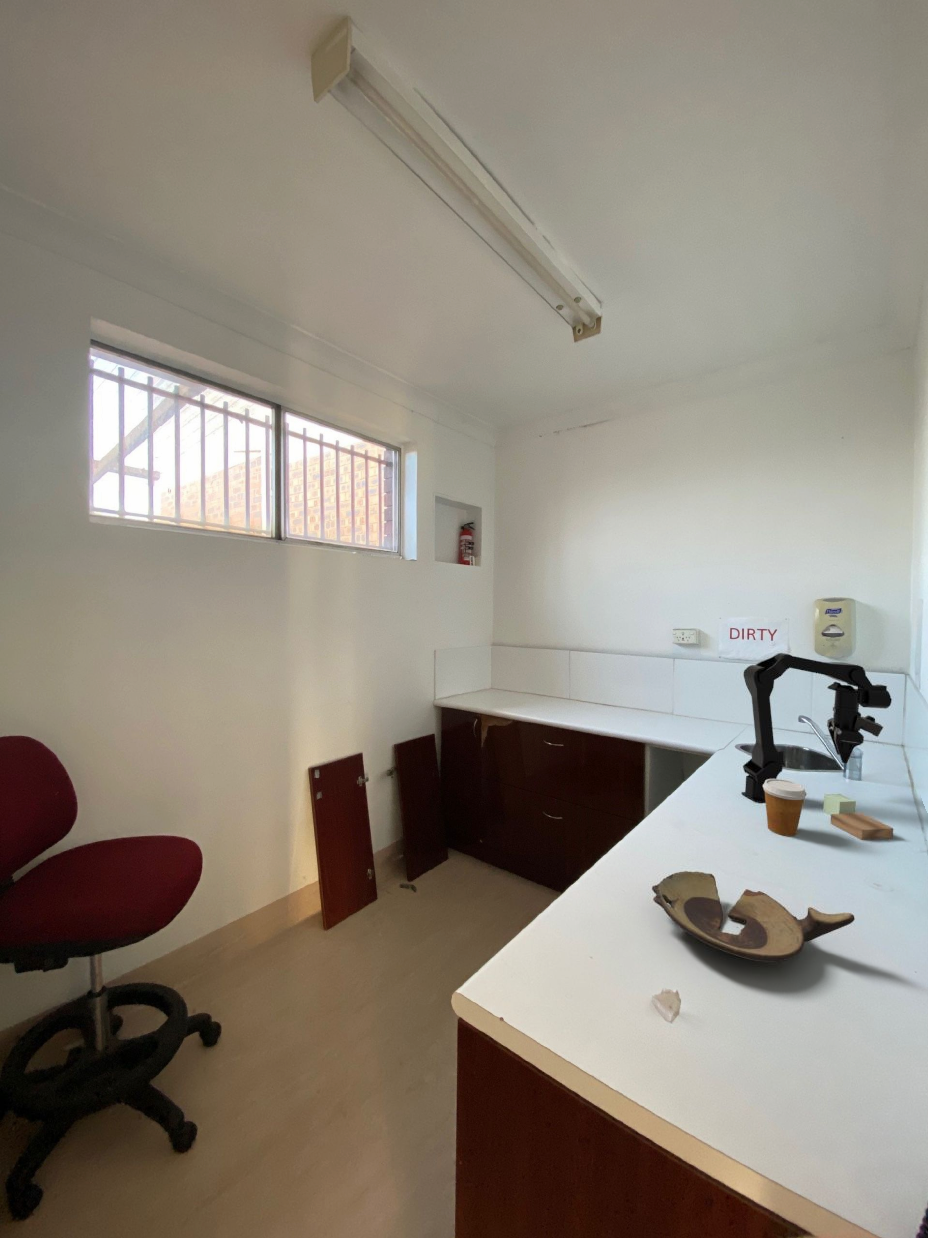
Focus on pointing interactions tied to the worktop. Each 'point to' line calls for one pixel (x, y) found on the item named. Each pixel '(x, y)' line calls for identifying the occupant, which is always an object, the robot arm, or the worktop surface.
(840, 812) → the sage block
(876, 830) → the walnut base
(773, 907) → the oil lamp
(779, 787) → the disposable coffee cup
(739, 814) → the worktop surface
